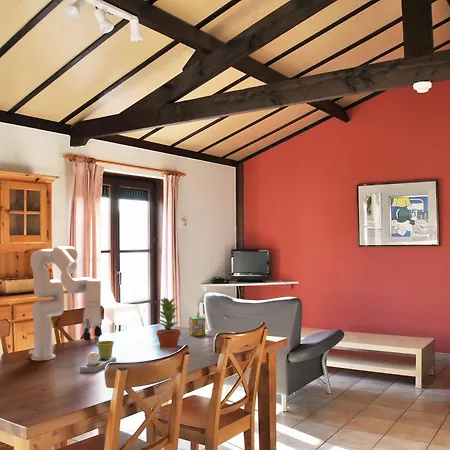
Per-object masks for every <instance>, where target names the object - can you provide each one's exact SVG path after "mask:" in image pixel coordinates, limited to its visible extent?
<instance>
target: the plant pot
mask: <svg viewBox="0 0 450 450" xmlns="http://www.w3.org/2000/svg"><path fill="white" fill-rule="evenodd" d="M114 343H115V342H114V340H101V341H97V342H96V345H97V349H98V353H99V358H101V357H112V356H113V355H112V353H113V346H114Z"/></svg>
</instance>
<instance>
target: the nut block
mask: <svg viewBox="0 0 450 450" xmlns="http://www.w3.org/2000/svg"><path fill="white" fill-rule="evenodd" d="M99 358H100V356H99V352H97V351H91V352H89V353H87V364H88V366H98V365H99Z"/></svg>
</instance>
